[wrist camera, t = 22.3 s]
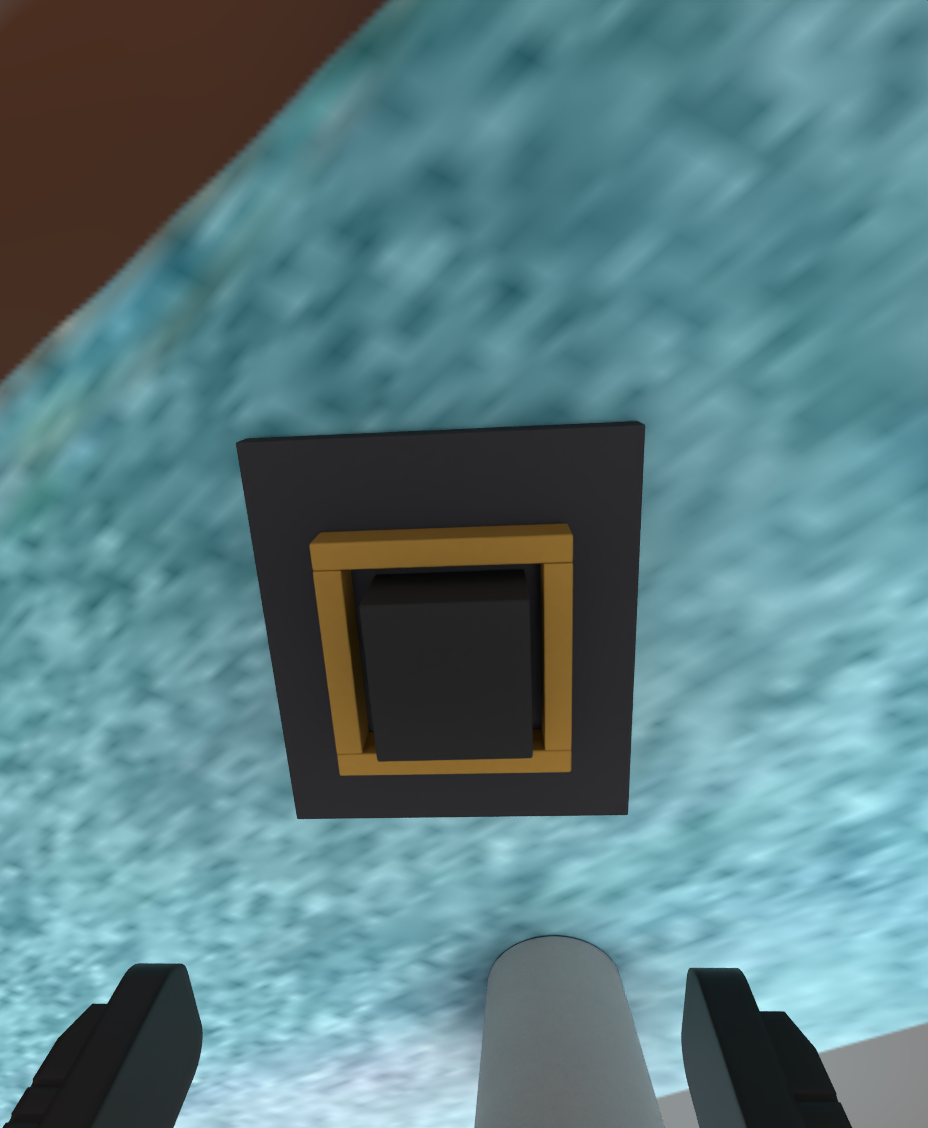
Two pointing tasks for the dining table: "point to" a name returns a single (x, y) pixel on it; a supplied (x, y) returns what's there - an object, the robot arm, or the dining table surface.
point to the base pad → (452, 544)
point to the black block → (449, 665)
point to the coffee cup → (561, 1043)
